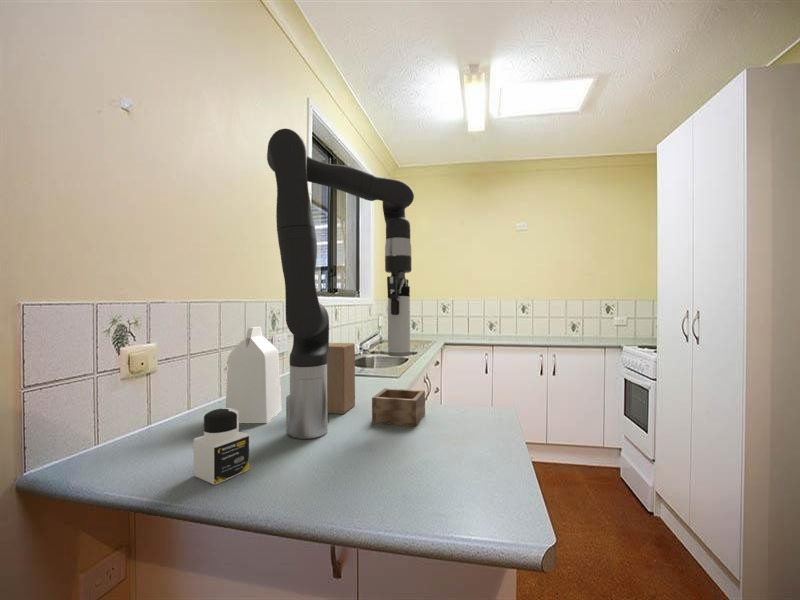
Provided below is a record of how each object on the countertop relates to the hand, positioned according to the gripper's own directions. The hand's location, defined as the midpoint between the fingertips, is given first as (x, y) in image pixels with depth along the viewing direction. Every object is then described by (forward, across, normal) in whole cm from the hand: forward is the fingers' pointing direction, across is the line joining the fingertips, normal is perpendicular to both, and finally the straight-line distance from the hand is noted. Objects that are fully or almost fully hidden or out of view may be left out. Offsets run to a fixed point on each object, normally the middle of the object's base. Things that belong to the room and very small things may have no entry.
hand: (398, 314), depth 103 cm
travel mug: (+12, 0, 0) cm, 12 cm away
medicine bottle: (+30, +41, -24) cm, 56 cm away
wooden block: (+30, -4, -22) cm, 37 cm away
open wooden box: (+29, 0, 0) cm, 29 cm away
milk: (+30, +9, -41) cm, 51 cm away
